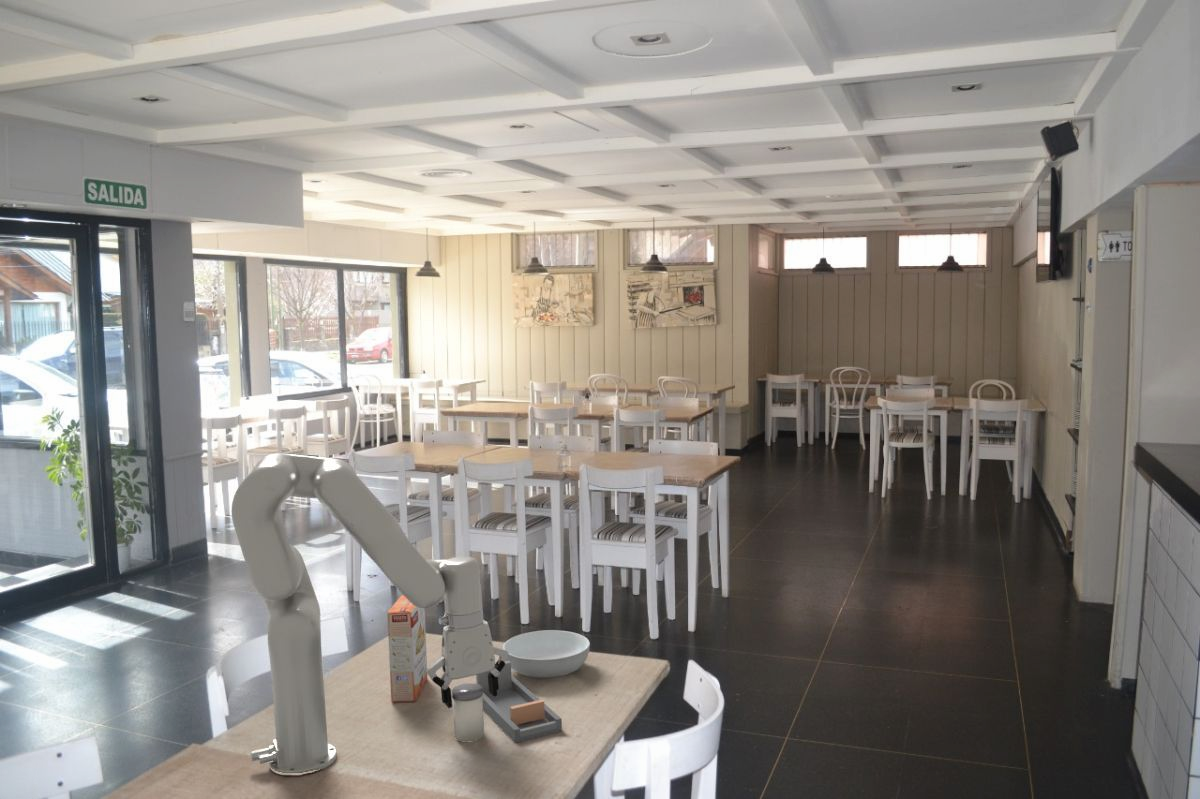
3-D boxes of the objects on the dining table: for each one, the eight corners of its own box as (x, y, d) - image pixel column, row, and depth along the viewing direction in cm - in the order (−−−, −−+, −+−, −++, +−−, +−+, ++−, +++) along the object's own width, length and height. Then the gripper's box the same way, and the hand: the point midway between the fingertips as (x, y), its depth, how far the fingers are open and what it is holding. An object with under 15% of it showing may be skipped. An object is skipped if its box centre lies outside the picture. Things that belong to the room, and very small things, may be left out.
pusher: (512, 725, 193) (512, 708, 193) (503, 716, 198) (503, 700, 197) (544, 718, 196) (544, 701, 196) (535, 709, 201) (534, 693, 201)
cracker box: (417, 702, 210) (412, 611, 208) (390, 703, 210) (385, 612, 208) (429, 678, 224) (425, 593, 222) (404, 679, 224) (399, 594, 222)
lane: (514, 742, 188) (513, 709, 187) (472, 698, 211) (470, 669, 211) (562, 730, 193) (560, 698, 192) (515, 688, 216) (513, 659, 215)
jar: (459, 744, 188) (457, 697, 187) (450, 733, 193) (447, 687, 193) (489, 737, 191) (486, 691, 190) (478, 726, 196) (476, 681, 195)
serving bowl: (582, 689, 214) (581, 660, 213) (494, 687, 217) (492, 658, 217) (597, 656, 235) (596, 629, 234) (516, 655, 238) (514, 628, 237)
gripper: (428, 632, 183) (435, 716, 184) (511, 614, 191) (517, 695, 192) (417, 622, 190) (424, 703, 191) (497, 605, 197) (503, 684, 199)
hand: (471, 699), depth 192 cm, fingers open, 9 cm apart
